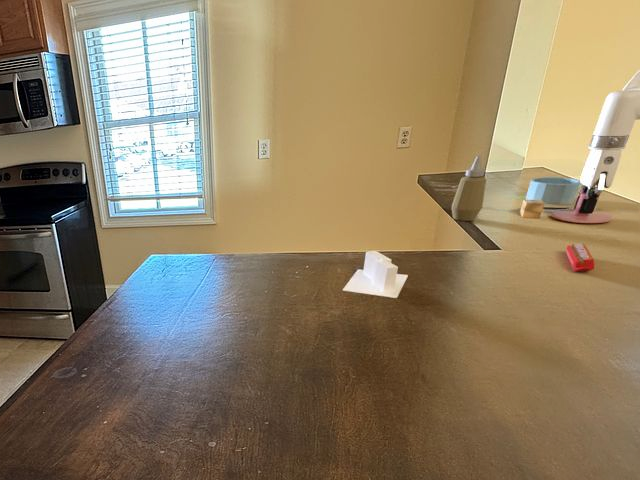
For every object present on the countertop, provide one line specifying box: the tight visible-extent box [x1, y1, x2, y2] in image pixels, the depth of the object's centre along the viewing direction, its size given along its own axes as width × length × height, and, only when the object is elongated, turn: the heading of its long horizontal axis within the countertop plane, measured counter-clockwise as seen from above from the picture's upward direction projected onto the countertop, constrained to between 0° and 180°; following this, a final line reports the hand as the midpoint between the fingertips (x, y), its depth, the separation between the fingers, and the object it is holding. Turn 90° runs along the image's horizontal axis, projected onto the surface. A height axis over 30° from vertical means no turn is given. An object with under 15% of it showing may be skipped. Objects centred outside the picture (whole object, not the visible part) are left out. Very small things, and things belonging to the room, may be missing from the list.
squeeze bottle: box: [451, 155, 487, 222], centre depth 143 cm, size 8×8×18 cm
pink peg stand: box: [550, 192, 613, 224], centre depth 138 cm, size 14×14×7 cm
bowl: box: [525, 176, 582, 210], centre depth 153 cm, size 13×13×8 cm
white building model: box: [342, 250, 409, 299], centre depth 106 cm, size 15×11×6 cm
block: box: [519, 199, 545, 219], centre depth 144 cm, size 4×4×4 cm
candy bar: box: [565, 243, 595, 273], centre depth 109 cm, size 16×4×3 cm, turn 150°
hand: (582, 210), depth 138 cm, fingers closed on pink peg stand, 3 cm apart
